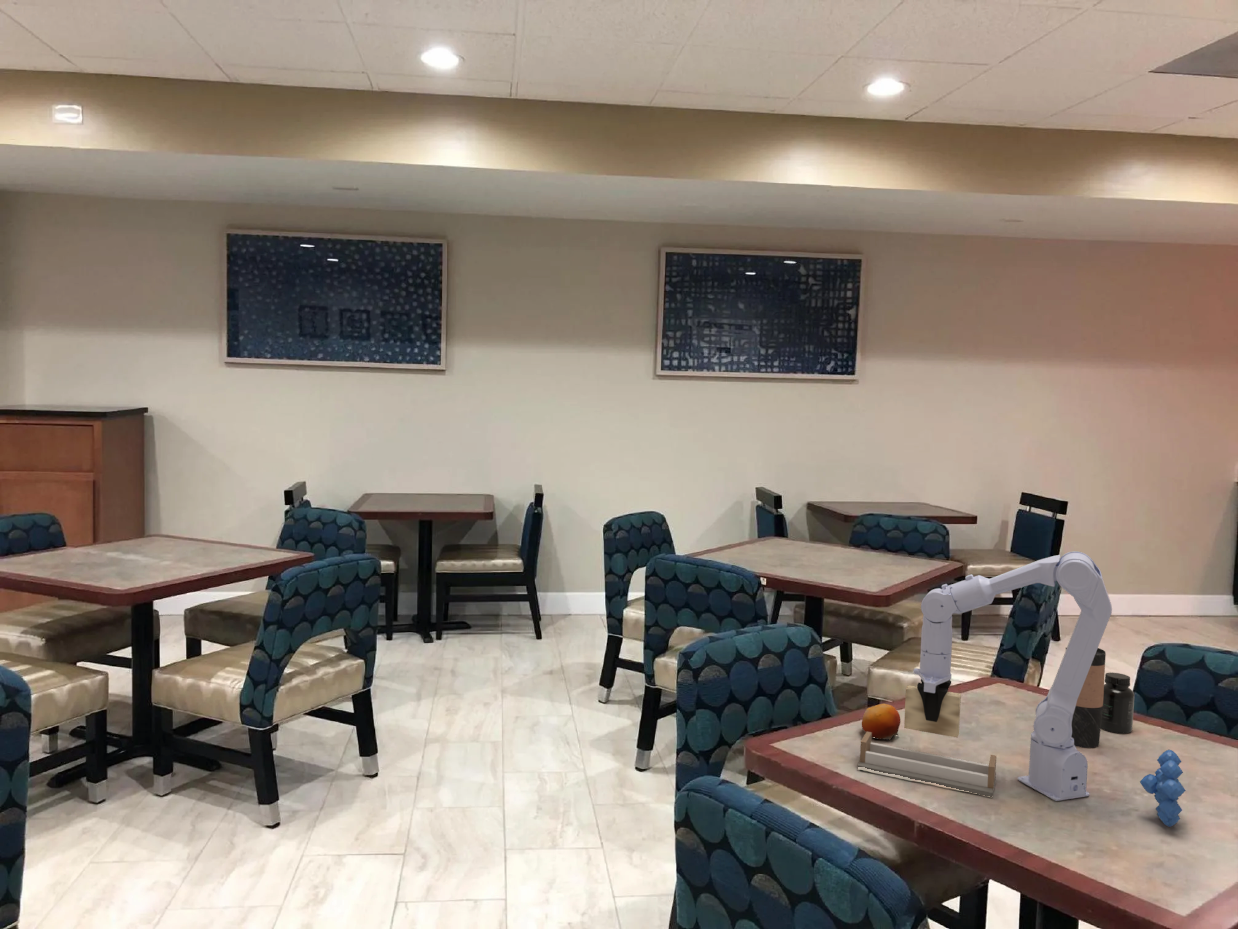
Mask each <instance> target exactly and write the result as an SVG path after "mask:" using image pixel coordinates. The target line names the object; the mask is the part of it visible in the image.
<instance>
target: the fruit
mask: <svg viewBox="0 0 1238 929" xmlns="http://www.w3.org/2000/svg"><path fill="white" fill-rule="evenodd" d="M900 725H901V716H900V713H899V711H898V710H897V709H896V707H894V706H893V705H892V704H887V703H880V704H877V705H872V706H871V707H868V708H866V709H865V711H864V713H863V715H862V720H861V728H862V729H863V732H864V733H866V732H872V737H875V738H878V739H877V740H885V739H889V740H890V741H891V739H892V738H893V737H894V736H896V735H898V732H899V728H900ZM889 740H888V741H889Z"/></svg>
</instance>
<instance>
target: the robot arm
mask: <svg viewBox="0 0 1238 929" xmlns="http://www.w3.org/2000/svg"><path fill="white" fill-rule="evenodd" d="M1056 581H1057V583H1058V585H1059V586H1060V588H1062V589H1063V590H1065V592H1067V593H1068V594H1069V596H1071V597H1073V599H1074V601H1075V602H1076V604H1077V606H1078V607H1079V609H1080V613H1079V616H1078V618H1077V621H1076V624H1075V625H1074V628H1073V631H1072V634H1071V636H1070V638H1069V640H1068V641H1069V642H1068V644H1067V647H1066V648H1067V649H1066V648H1065V651H1064V655H1063V657H1062V660H1061V662H1060V664H1059V667H1058V670H1057V672H1056V675H1055V677H1054V679H1053V682H1052V685H1051V686H1050V688H1049V690H1048V693H1047V695H1046V696H1045V698H1044V699H1043V700H1040V702H1038V704H1037V705H1036V708H1035V719H1034V721H1033V726H1032V727H1033V731H1032V732H1031V733H1030V746H1029V747H1030V748H1029V749H1030V750H1029V762H1028V775H1022V776H1017V781H1019V782H1020V783H1022V784H1024V785H1026V786H1028V787H1030V788H1031V789H1034V790H1035V791H1037V792H1039V793H1041V794H1042V795H1044V796H1046V797H1048V798H1049V799H1051V800H1053V801H1055V802H1056V801H1057V802H1058V801H1059V802H1060V801H1065V800H1070V799H1071V800H1072V799H1077V798H1078V799H1079V798H1083V797H1089V796H1090V792H1088V791H1087V781H1088V780H1087V779H1088V767H1089V766H1088V759H1087V757H1086V756H1085V755H1084V754H1083V753H1082V752H1081V751H1080V750H1078V749H1077V746H1075V745H1074V739H1073V738H1072V737H1071V736H1072V719H1073V714H1074V710H1075V706H1076V703H1077V699H1078V697H1079V694H1080V692H1081V689H1082V687H1083V684H1084V681H1085V679H1086V676H1087V674H1088V671H1089V669H1090V666H1091V664H1092V661H1093V659H1094V656H1095V654H1096V651H1097V649H1098V648H1099V646H1100V643H1101V640H1102V639H1103V635H1104V633H1105V630H1106V628H1107V626H1108V623H1109V620H1110V618H1111V617H1112V616H1111V615H1112V612H1113V608H1112V602H1111V599H1110V597H1109V593H1108V590H1107V587H1106V584H1105V580H1104V577H1103V574H1102V571H1101V569H1100V568H1099V567H1098V566H1097V564H1096V563H1095V561H1094V560H1093V559H1092V558H1091V557H1090V556H1089V555H1088V554H1086V553H1085V552H1081V551H1068V552H1066V553H1064V554H1063V555H1062V556H1061V554H1058V555H1053V556H1048V557H1045V558H1041V559H1038V560H1036V561H1033V562H1030V563H1028V564H1025V565H1023V566H1020V567H1018V568H1014V569H1011V570H1009V571H1006V572H1004V573H1001V574H999V575H997V576H993V577H991V578H988V577H985V576H983V575H980V574H978V575H973V574H972V573H971V574H968V575H966V576H965V579H964V580H963V579H962V580H961V581H957V582H955V583H953V584H952V583H951V584H949V585H948V584H947V583H945V584H942V585H941V588H934V589H931V590H930V591H929V592H927V594H926V595H925V596H924V597H923V599H922V601H921V604H920V610H921V613H922V614H923V616H922V625H921V632H920V635H921V638H920V655H919V657H920V659H919V668H913V671H912V673H913V674H914V675H917V676H919V678H920V682H918V683H917V684H916V685H917V686H916V687H917V689H918V691H919V693H920V695H921V698H922V701H923V707H924V713H925V718H926V720H928V721H933V722H937V720H938V718H939V714H940V709H941V704H942V701H943V698H944V696H945V695H946V693H947V692H949V688H950V686H951V684H952V673H951V672H952V671H951V669H952V668H951V667H952V647H953V631H954V630H953V627H952V626H953V616H952V615H953V614H958V615H961V614H963V613H968V612H970V611H973V610H976V609H978V608H981V607H985V606H988V605H992V604H993V601H994V599H995V597H996V596H997V595H1000V594H1003V593H1006V592H1010V591H1013V590H1017V589H1020V588H1023V587H1028V586H1030V585H1034V584H1042V585H1045V586H1049V587H1053V588H1055V585H1056Z"/></svg>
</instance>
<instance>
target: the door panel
mask: <svg viewBox="0 0 1238 929" xmlns="http://www.w3.org/2000/svg"><path fill="white" fill-rule="evenodd" d="M904 698H905V699H904V700H905V702H904V720H903V721H904V725H903V727H904V729H907V730H913V731H916V732H917V731H918V732H924V733H930V734H935V735H941V736H946V737H951V738H952V737H953V738H958V737H959V734H960V722H961V721H960V720H961V701H962V700H961V698H962V693H959V692H952V691H948V692H947V693H946V695H945V696H944V698H943V701H942V704H941V709H940V714H939V718H938V720H937V722H933V721H928V720H926V718H925V713H924V707H923V701H922V698H921V695H920V693H919V691H918V689H917V686H914V685H907V686H906V688H905V697H904Z"/></svg>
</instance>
